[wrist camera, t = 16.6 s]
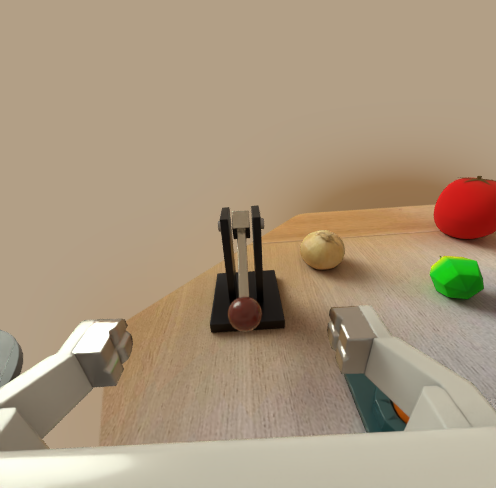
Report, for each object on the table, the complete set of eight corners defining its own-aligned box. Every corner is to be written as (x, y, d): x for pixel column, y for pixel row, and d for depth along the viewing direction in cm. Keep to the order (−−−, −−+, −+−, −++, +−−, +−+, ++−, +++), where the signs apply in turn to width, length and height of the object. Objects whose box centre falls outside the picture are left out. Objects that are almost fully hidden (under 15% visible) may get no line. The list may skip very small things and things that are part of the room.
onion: (290, 263, 48) (291, 229, 45) (316, 248, 53) (318, 217, 49) (326, 281, 43) (330, 244, 39) (351, 263, 47) (357, 228, 44)
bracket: (284, 328, 34) (286, 228, 27) (211, 332, 34) (193, 234, 27) (274, 276, 45) (273, 196, 38) (218, 280, 45) (207, 200, 38)
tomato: (424, 221, 61) (439, 169, 55) (485, 227, 57) (508, 170, 51) (433, 244, 51) (453, 183, 45) (507, 253, 47) (540, 186, 41)
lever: (263, 334, 27) (263, 324, 24) (229, 336, 27) (226, 327, 24) (254, 224, 36) (253, 206, 33) (228, 225, 36) (226, 208, 33)
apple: (482, 263, 32) (449, 232, 40) (430, 285, 35) (409, 253, 43) (508, 299, 33) (471, 263, 41) (456, 318, 36) (431, 281, 44)
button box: (520, 502, 18) (537, 487, 17) (396, 509, 18) (404, 495, 17) (423, 366, 28) (429, 351, 27) (342, 371, 28) (345, 356, 27)
